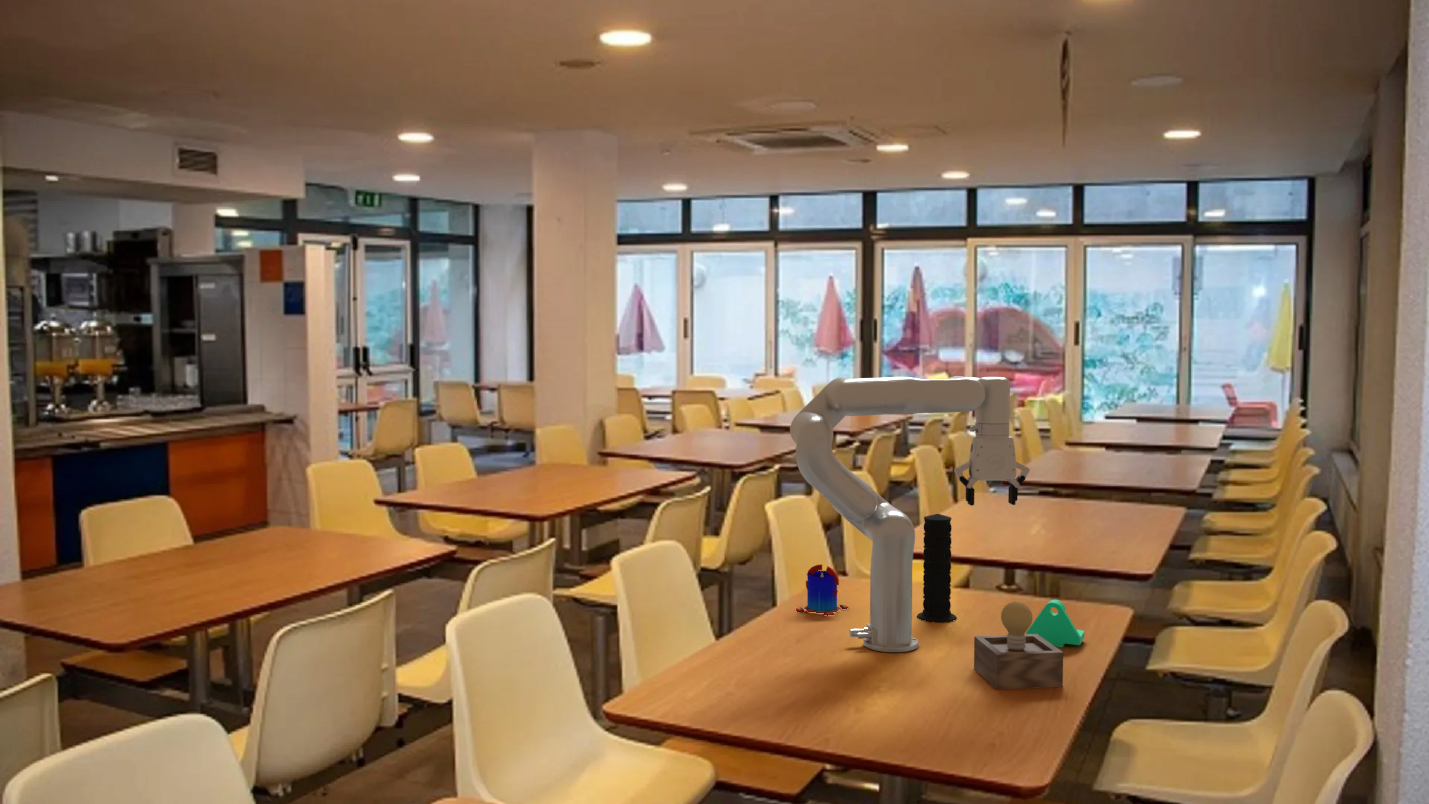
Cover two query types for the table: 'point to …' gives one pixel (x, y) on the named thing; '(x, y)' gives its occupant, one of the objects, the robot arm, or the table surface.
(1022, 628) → the light bulb
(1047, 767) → the table surface
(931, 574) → the handle grip
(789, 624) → the table surface
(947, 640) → the table surface
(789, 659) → the table surface
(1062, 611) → the camera mount
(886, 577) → the robot arm
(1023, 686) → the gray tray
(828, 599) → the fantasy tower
